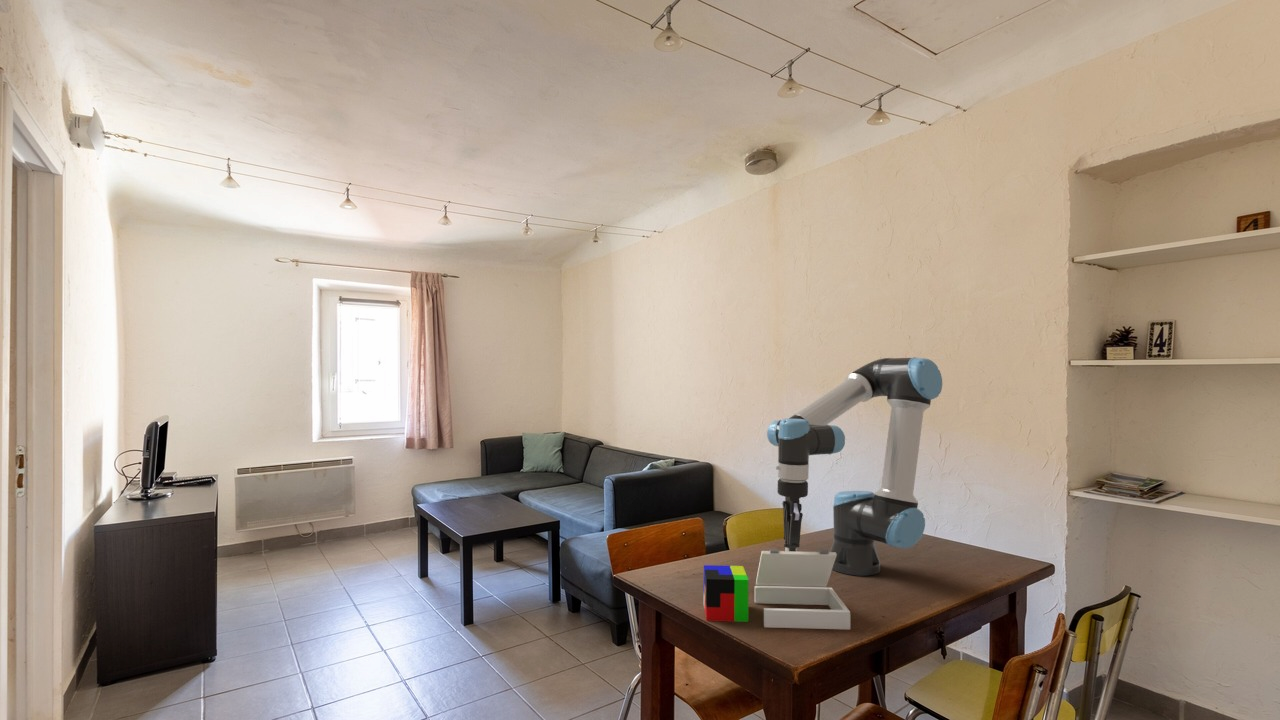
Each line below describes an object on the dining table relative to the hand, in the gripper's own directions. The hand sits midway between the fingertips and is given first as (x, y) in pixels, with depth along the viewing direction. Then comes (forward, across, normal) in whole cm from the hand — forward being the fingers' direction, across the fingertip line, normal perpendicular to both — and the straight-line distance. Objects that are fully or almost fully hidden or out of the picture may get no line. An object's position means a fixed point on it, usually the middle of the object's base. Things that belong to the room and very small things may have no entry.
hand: (790, 571), depth 152 cm
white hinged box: (+9, +6, +1) cm, 10 cm away
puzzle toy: (+9, +6, -17) cm, 20 cm away
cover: (-2, +3, 0) cm, 3 cm away
